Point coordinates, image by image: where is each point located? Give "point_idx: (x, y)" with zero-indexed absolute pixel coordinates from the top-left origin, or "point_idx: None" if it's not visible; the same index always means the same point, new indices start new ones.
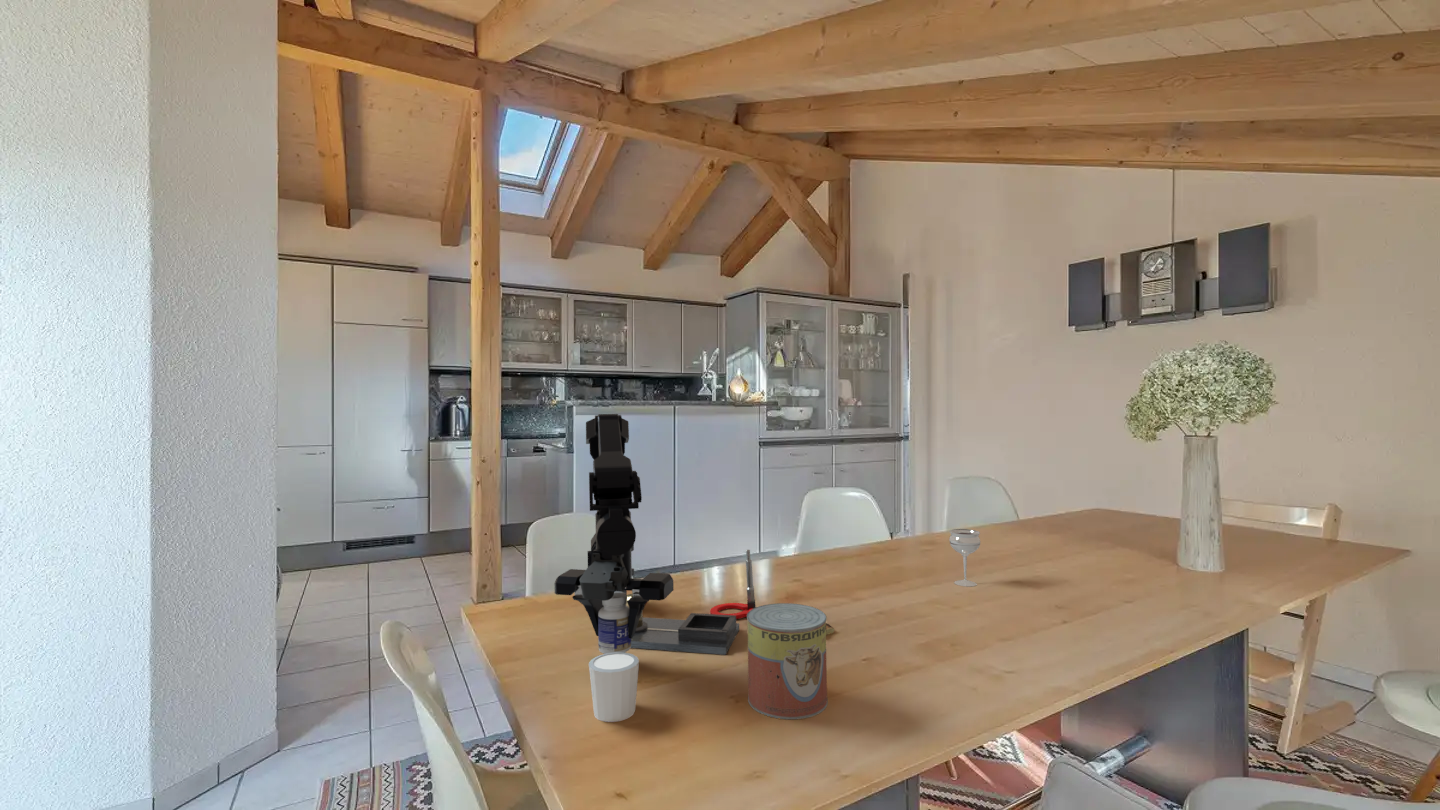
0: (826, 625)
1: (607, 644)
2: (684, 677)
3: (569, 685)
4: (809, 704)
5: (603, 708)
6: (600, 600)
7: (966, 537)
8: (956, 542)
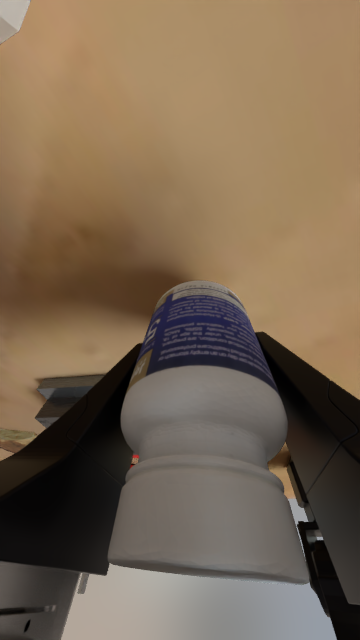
0: (4, 448)
1: (195, 293)
2: (20, 289)
3: (265, 105)
4: None
5: None
6: (316, 497)
7: None
8: None
